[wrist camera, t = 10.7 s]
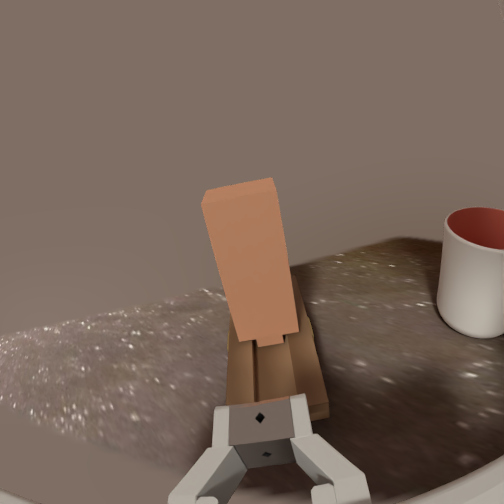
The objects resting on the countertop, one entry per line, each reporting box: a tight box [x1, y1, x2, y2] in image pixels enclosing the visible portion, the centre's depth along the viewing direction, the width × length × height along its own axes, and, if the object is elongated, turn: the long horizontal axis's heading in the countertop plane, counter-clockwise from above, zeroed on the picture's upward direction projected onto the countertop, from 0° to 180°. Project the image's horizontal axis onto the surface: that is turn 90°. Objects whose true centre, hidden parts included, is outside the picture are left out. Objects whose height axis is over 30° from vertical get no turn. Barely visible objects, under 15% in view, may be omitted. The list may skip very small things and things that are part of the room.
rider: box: [201, 177, 299, 347], centre depth 25 cm, size 5×4×13 cm
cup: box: [437, 207, 504, 338], centre depth 25 cm, size 10×10×10 cm
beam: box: [226, 275, 329, 421], centre depth 28 cm, size 7×17×4 cm, turn 2°
